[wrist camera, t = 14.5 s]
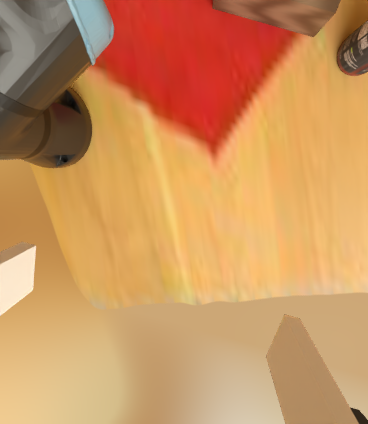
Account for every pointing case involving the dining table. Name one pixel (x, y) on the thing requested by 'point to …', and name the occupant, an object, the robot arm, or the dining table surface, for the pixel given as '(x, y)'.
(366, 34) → the supplement bottle
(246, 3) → the stand
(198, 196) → the dining table surface
